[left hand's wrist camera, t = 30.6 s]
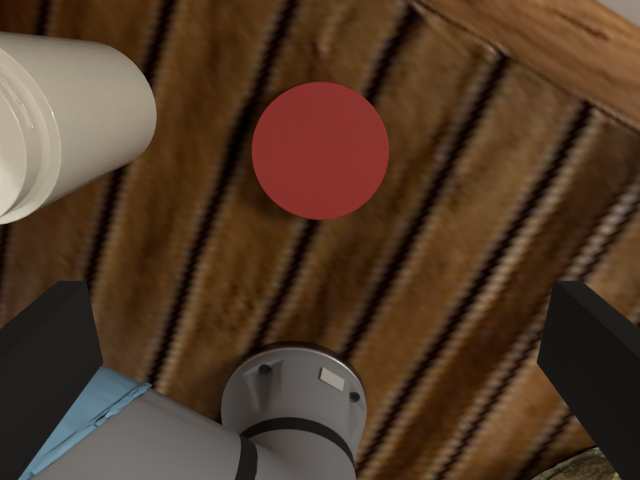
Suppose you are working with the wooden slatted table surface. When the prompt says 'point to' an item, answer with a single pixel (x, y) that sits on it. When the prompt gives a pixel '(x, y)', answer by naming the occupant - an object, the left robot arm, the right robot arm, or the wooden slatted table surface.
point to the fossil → (582, 468)
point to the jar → (66, 118)
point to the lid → (320, 150)
